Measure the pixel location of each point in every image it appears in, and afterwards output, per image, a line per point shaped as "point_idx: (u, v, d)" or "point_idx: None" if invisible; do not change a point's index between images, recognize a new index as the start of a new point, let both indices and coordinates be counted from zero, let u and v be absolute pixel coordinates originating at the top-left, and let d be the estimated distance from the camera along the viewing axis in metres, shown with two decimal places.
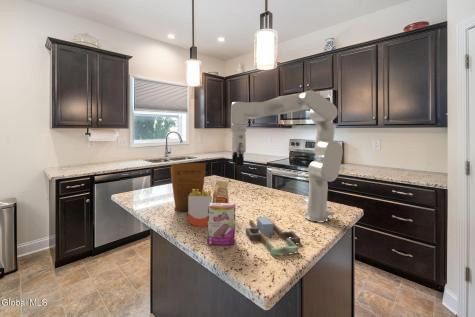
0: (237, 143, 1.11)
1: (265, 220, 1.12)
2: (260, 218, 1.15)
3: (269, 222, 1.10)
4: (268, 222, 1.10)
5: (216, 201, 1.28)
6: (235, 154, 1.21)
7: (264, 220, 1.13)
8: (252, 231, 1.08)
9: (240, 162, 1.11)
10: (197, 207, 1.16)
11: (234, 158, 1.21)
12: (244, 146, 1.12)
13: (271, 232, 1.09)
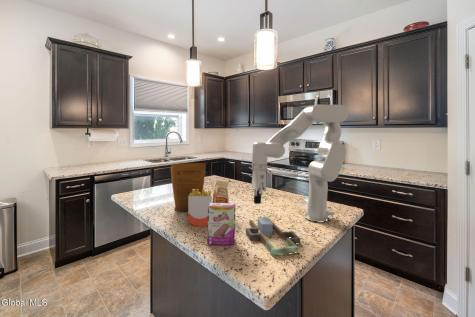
0: (258, 183, 1.15)
1: (265, 220, 1.12)
2: (261, 218, 1.15)
3: (268, 222, 1.10)
4: (267, 222, 1.10)
5: (216, 201, 1.28)
6: None
7: (264, 219, 1.13)
8: (252, 231, 1.08)
9: (258, 201, 1.20)
10: (197, 207, 1.16)
11: None
12: (265, 185, 1.16)
13: (270, 232, 1.09)
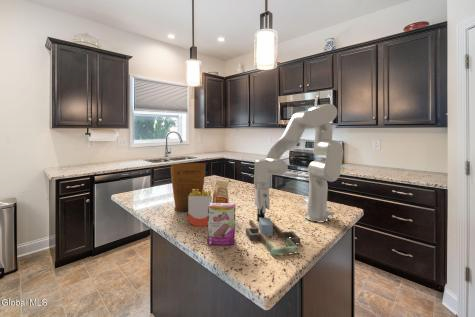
0: (261, 201, 1.12)
1: (266, 221, 1.11)
2: (262, 218, 1.14)
3: (269, 223, 1.09)
4: (268, 223, 1.09)
5: (216, 201, 1.28)
6: None
7: (265, 220, 1.12)
8: (252, 231, 1.08)
9: None
10: (197, 207, 1.16)
11: None
12: (268, 204, 1.13)
13: (270, 233, 1.08)
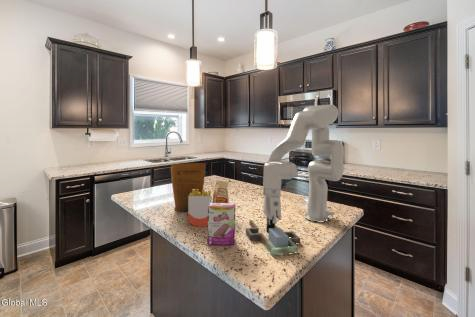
0: (272, 211, 0.99)
1: (278, 232, 0.99)
2: (272, 229, 1.02)
3: (283, 234, 0.97)
4: (282, 234, 0.97)
5: (216, 201, 1.28)
6: None
7: (277, 231, 1.00)
8: (252, 231, 1.08)
9: None
10: (197, 207, 1.16)
11: (269, 227, 1.05)
12: (279, 213, 1.00)
13: (286, 246, 0.95)
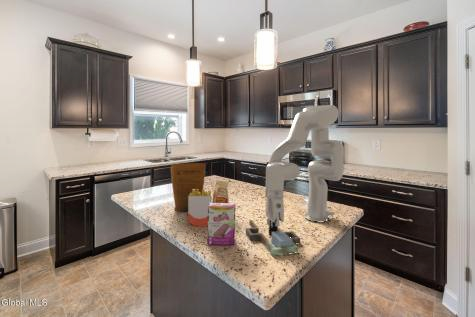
0: (274, 213, 0.96)
1: (282, 236, 0.96)
2: (275, 233, 0.99)
3: (287, 238, 0.94)
4: (286, 238, 0.94)
5: (216, 201, 1.28)
6: None
7: (280, 235, 0.97)
8: (252, 231, 1.08)
9: None
10: (197, 207, 1.16)
11: None
12: (282, 216, 0.97)
13: None
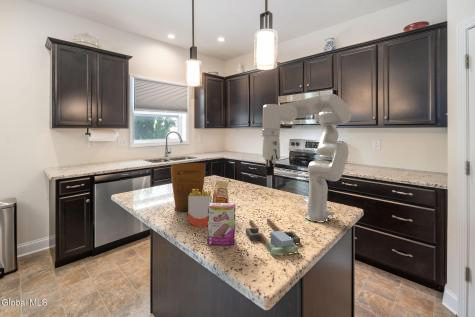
0: (271, 150, 1.00)
1: (282, 235, 0.96)
2: (275, 233, 0.98)
3: (287, 238, 0.94)
4: (286, 238, 0.94)
5: (216, 201, 1.28)
6: None
7: (280, 235, 0.97)
8: (252, 231, 1.08)
9: (271, 172, 1.05)
10: (197, 207, 1.16)
11: None
12: (278, 153, 1.01)
13: None
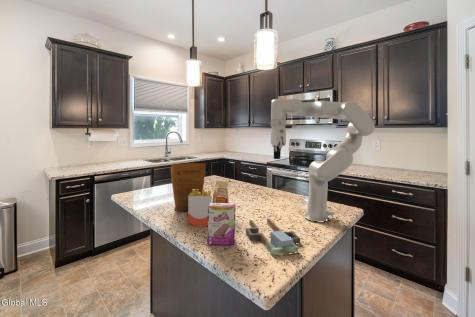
0: (278, 137, 1.20)
1: (282, 235, 0.96)
2: (275, 233, 0.98)
3: (287, 238, 0.94)
4: (286, 238, 0.94)
5: (216, 201, 1.28)
6: None
7: (280, 235, 0.97)
8: (252, 231, 1.08)
9: (278, 156, 1.25)
10: (197, 207, 1.16)
11: None
12: (284, 140, 1.21)
13: None
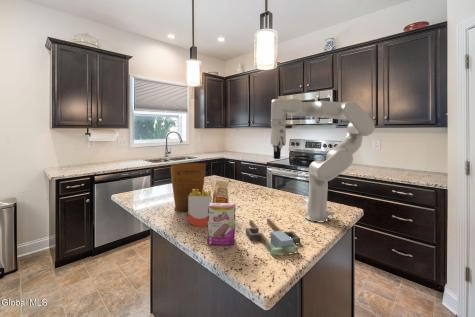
0: (278, 137, 1.20)
1: (282, 235, 0.96)
2: (275, 233, 0.99)
3: (287, 238, 0.94)
4: (286, 238, 0.94)
5: (216, 201, 1.28)
6: None
7: (280, 235, 0.97)
8: (252, 231, 1.08)
9: (278, 156, 1.25)
10: (197, 207, 1.16)
11: None
12: (284, 140, 1.21)
13: None
